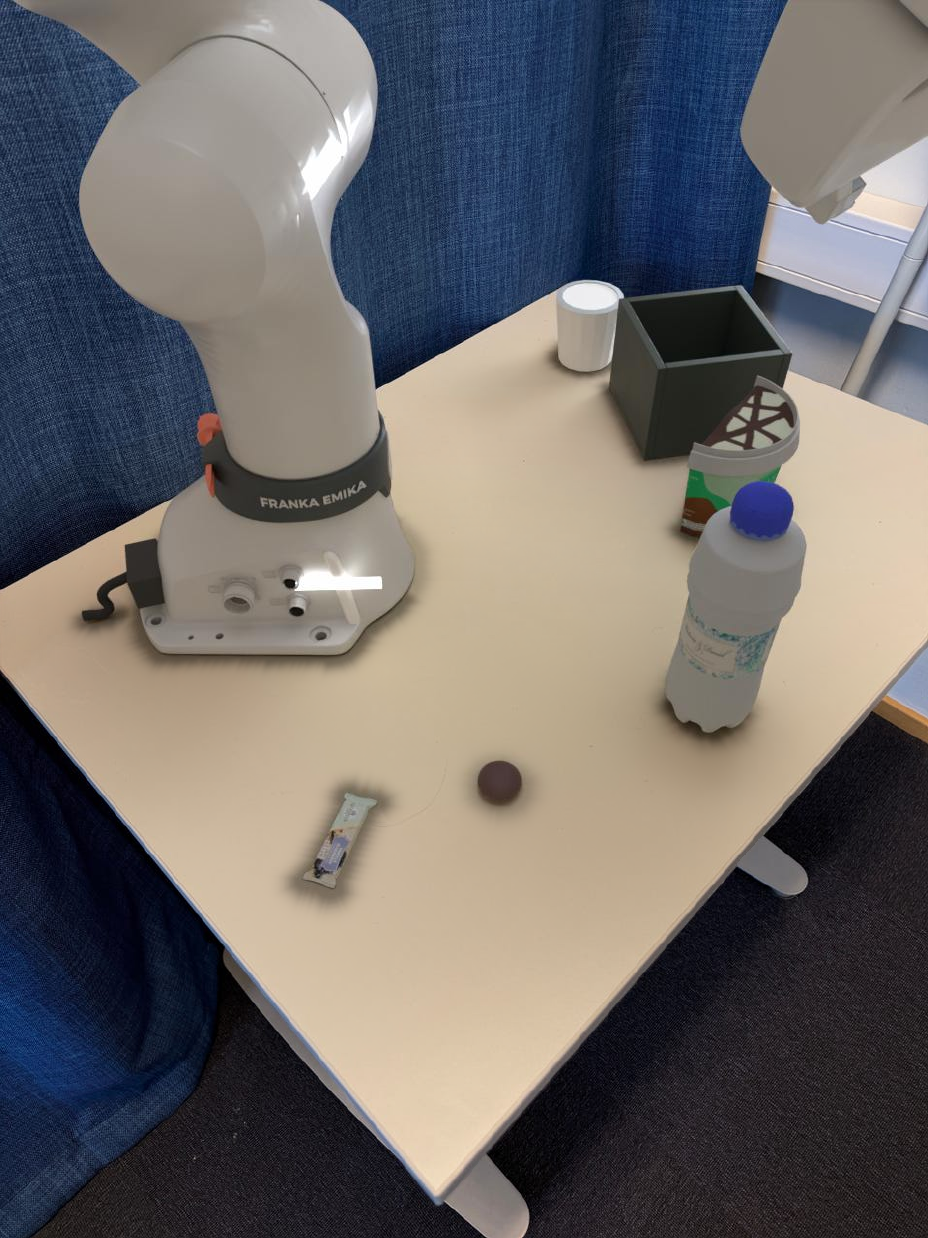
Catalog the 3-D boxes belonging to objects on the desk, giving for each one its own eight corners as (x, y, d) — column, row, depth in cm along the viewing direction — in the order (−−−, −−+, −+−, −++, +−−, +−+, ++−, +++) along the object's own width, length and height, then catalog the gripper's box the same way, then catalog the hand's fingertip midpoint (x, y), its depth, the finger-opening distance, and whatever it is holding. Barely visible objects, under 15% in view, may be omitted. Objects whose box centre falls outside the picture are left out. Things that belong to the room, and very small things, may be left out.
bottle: (639, 697, 66) (682, 485, 51) (703, 654, 69) (762, 440, 54) (707, 759, 62) (774, 550, 48) (772, 711, 65) (856, 499, 50)
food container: (737, 570, 75) (765, 476, 67) (671, 540, 77) (690, 446, 70) (799, 491, 81) (830, 396, 73) (736, 466, 84) (760, 372, 76)
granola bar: (347, 795, 62) (345, 786, 61) (378, 804, 61) (377, 796, 60) (303, 882, 58) (300, 874, 57) (335, 893, 57) (333, 886, 56)
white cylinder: (539, 359, 96) (542, 298, 91) (577, 332, 99) (581, 271, 94) (593, 382, 93) (598, 320, 88) (629, 353, 96) (637, 292, 91)
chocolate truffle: (476, 805, 61) (476, 793, 59) (478, 767, 63) (478, 754, 61) (521, 806, 60) (522, 794, 59) (521, 768, 62) (522, 755, 61)
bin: (643, 460, 84) (658, 368, 77) (608, 387, 92) (618, 298, 85) (767, 444, 86) (793, 353, 78) (722, 373, 94) (741, 284, 86)
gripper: (1338, -417, 27) (1047, -5, 41) (792, -127, 25) (676, 209, 38) (1495, -283, 26) (1142, 96, 39) (939, 36, 23) (765, 323, 37)
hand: (909, 153), depth 39 cm, fingers open, 8 cm apart
